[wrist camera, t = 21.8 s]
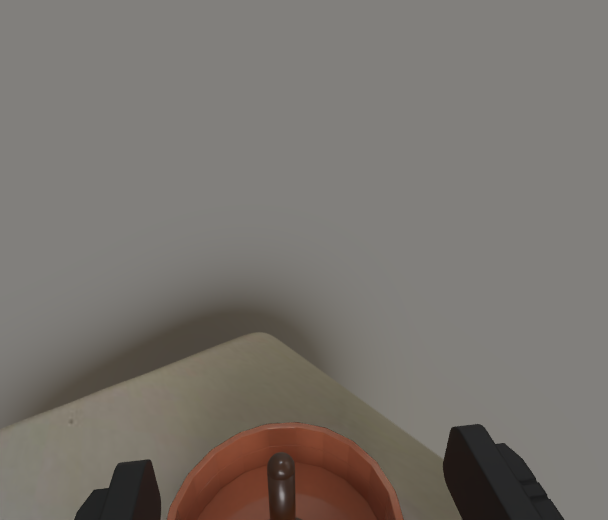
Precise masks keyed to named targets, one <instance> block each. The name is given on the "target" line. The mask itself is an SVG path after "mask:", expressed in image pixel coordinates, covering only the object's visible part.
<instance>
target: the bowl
mask: <svg viewBox="0 0 608 520" xmlns="http://www.w3.org/2000/svg"><path fill="white" fill-rule="evenodd" d="M278 452H284V453H287V454H289V455H290V456H291V457H292V459H293V460H294V463H295V500H296V517H298V518H300V519H302V520H404V519H403V516H402V512H401V509H400V505H399V502H398V498H397V495H396V492H395V490H394V488H393V486H392V485H391V483H390V482H389V480H388V479H387V477H386V476H385V474H384V472H383V471H382V469H381V468H380V466H379V465H378V463H377V462H376V461H375V460H374V459H373V458H372V457H370V456H369V455H368V454H367V453H366V452H365V451H364V450H363V449H361V448H360V447H359V446H358V445H357V444H356V443H355V442H353V441H352V440H350V439H348V438H346V437H344V436H342V435H340V434H338V433H335V432H333V431H331V430H329V429H327V428H324V427H319V426H314V425H309V424H304V423H299V422H291V423H274V424H265V425H262V426H259V427H256V428H253V429H249V430H246V431H243V432H240V433H238V434H236V435H235V436H233V437H231V438H230V439H228V440H227V441H225V442H223V443H222V444H220V445H218V446H217V447H215V448H214V449H212V450H211V451H210V452H209V453H208V454H207V455H206V456H205V457H204V458H203V459H202V460H201V461H200V462H199V463H198V464H197V465H196V466H195V467H194V469H193V470H192V471H191V472H190V473H189V474H188V475H187V477H186V479H185V480H184V482H183V484H182V486H181V488H180V490H179V491H178V493H177V495H176V497H175V499H174V501H173V502H172V504H171V506H170V509H169V513H168V518H167V520H269V519H270V513H269V496H268V479H267V464H268V461H269V459H270V458H271V457H272V456H273V455H274V454H276V453H278Z"/></svg>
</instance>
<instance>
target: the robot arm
mask: <svg viewBox="0 0 608 520" xmlns="http://www.w3.org/2000/svg"><path fill="white" fill-rule="evenodd" d="M443 472H444V477H445V481H446V484H447V487H448V489H449V491H450V493H451V496H452V498H453V500H454V502H455V504H456V506H457V508H458V511H459V513H460V515H461V517H462V519H463V520H564V518H563V517H562V516H561V514H560V513H559V511H558V510H557V508H556V507H555V505H554V504H553V502H552V501H551V499H548V497H547V494H546V492H545V491H544V489H543V488H542V486H541V485H540V483H539V482H538V483H537V481H536V478H535V476H534V475H533V473H532V472H531V470H530V469H529V467H528V466H527V465H526V463H525V462H524V460H523V459H522V458H521V457H520V456H519V455H517V454H516V453H515V452H514V451H513V450H512V449H510V448H509V447H508V446H507V445H506V444H505V443H501V444H495V443H494V441H493V440H492V438H491V437H490V435H489V434H488V432H487V431H486V429H485V428H484V427H483V426H482V425H480V424H475V425H466V426H457V427H452V428H451V430H450V434H449V439H448V443H447V448H446V453H445V457H444V461H443ZM160 517H161V498H160V493H159V489H158V485H157V481H156V477H155V473H154V470H153V466H152V462H151V460H140V461H131V462H122V463H118V464H117V466H116V468H115V470H114V473H113V476H112V480H111V483H110V486H109V488H105V489H97V490H93V492H92V493H91V494H90V496H89V497H88V498H87V500H86V501H85V502H84V504H83V505H82V506H81V508H80V509H79V510H78V512H77V514H76V516H75V519H74V520H160Z"/></svg>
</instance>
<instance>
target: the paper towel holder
mask: <svg viewBox="0 0 608 520" xmlns="http://www.w3.org/2000/svg"><path fill="white" fill-rule="evenodd" d="M267 479H268V496H269V513H270V519H269V520H302V519H300V518H298V517H296V500H295V463H294V460H293V459H292V457H291V456H290V455H289V454H287V453H284V452H278V453H276V454H274V455H273V456H272V457H271V458H270V459H269V461H268V464H267Z"/></svg>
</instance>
